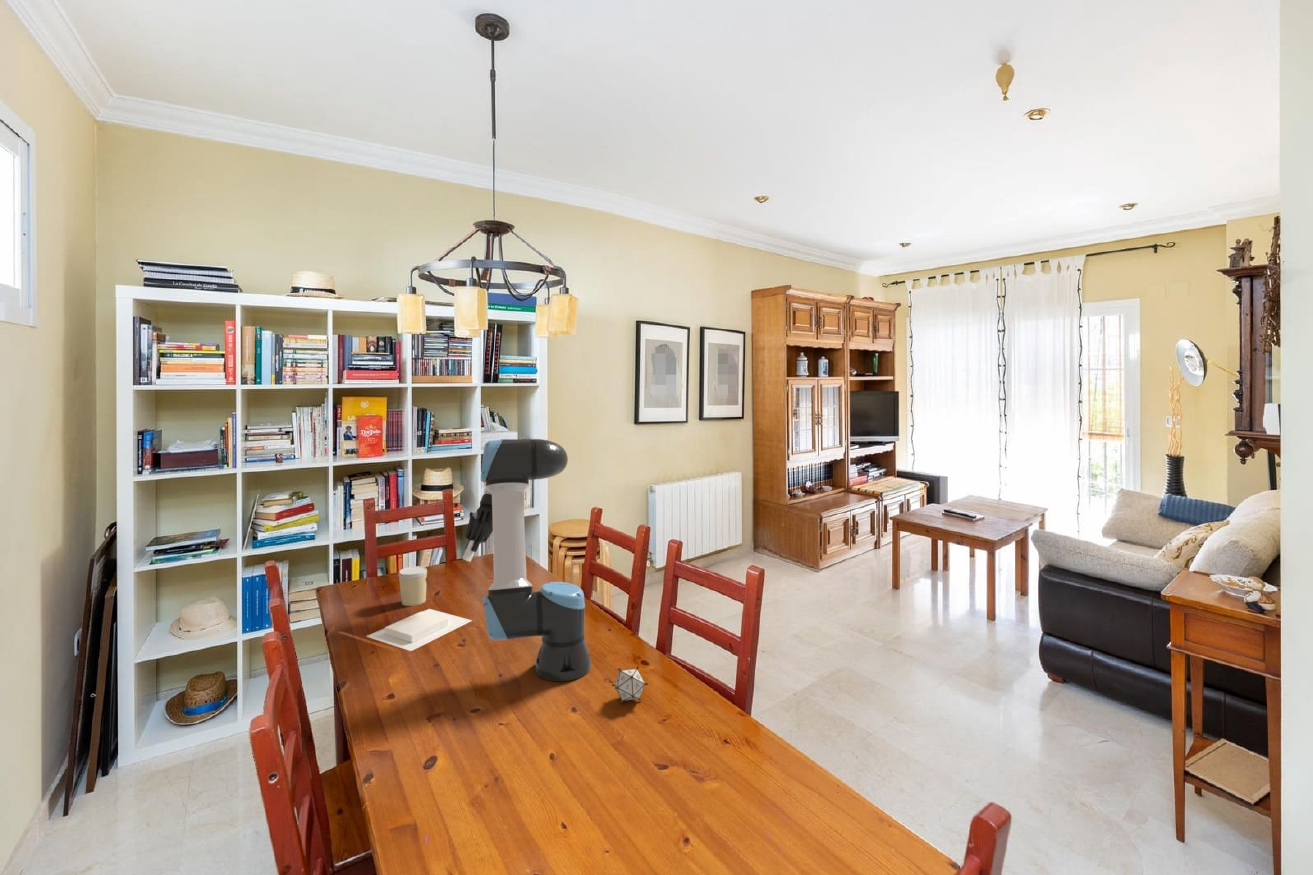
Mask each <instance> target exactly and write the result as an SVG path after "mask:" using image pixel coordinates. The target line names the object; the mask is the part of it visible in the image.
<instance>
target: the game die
mask: <svg viewBox="0 0 1313 875" xmlns="http://www.w3.org/2000/svg"><path fill="white" fill-rule="evenodd" d="M636 666H637V667H636V668H630V669H629V668H628V669H621V668H620V667H618V668H617V669H618V671H619V672H618V675H617V677H616V680H615V681H614V683H612V684H611V686H612V687H614V689H615V690H616V692H617V694H618V696H619V698H620V703H622V704H623V702H627V701H633V700H634V701H635V700H638V701H639V700H641V701H642V699H641V696H642V694H643V691H644V688H645V686H648V685H649V683H648V682H645V680H644V678H643V676H642V674H641V672H640V671H639V667H640V665H636ZM620 703H619V704H620Z"/></svg>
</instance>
